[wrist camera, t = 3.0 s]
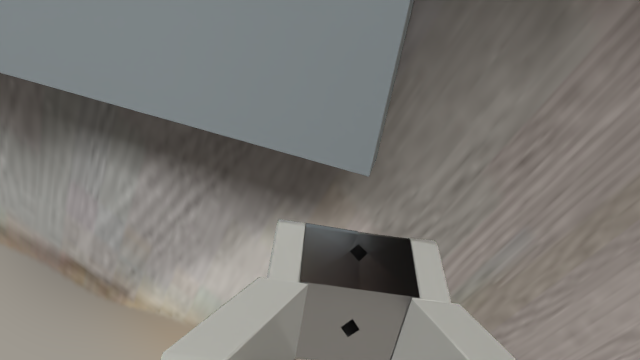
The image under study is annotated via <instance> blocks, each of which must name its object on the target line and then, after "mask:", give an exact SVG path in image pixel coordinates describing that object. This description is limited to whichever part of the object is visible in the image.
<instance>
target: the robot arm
mask: <svg viewBox="0 0 640 360" xmlns="http://www.w3.org/2000/svg"><path fill="white" fill-rule="evenodd" d="M295 358H300V359H310V360H516V359H515V358H514V357H513V356H512V355H511V354H510V353H509V352H508V351H507V350H506V349H505V348H504V347H503V346H502V345H501V344H500V343H499V342H498V341H497V340H496V339H495V338H494V337H493V336H492V335H491V334H490V333H489V332H488V331H487V330H486V329H485V328H484V327H482V326H481V325H480V324H479V323H478V322H477V321H476V320H475V319H474V318H473V317H472V316H471V315H470V314H469V313H468V312H467V311H466V310H465V309H464V308H463V307H462V306H461V305H460V304H455V303H452V302H451V298H450V294H449V290H448V285H447V281H446V277H445V273H444V269H443V265H442V261H441V256H440V252H439V248H438V244H437V243H436V242H435V241H433V240H424V239H416V238H408V239H407V238H400V237H393V236H385V235H378V234H371V233H363V232H357V231H352V230H346V229H340V228H334V227H327V226H321V225H315V224H309V223H306V225H305V224H304V223H301V222H295V221H288V220H281V219H279V220H278V222H277V226H276V231H275V237H274V242H273V248H272V253H271V259H270V264H269V269H268V275H267V278H261V277H259V278H257V279H256V280H255V281H253V282H252V283H251V284H250V285H248V286H247V287H246V288H245V289H243V290H242V291H241V292H239V293H238V294H237V295H236V296H234V297H233V298H232V299H231V300H229V301H228V302H227V303H225V304H224V305H223V306H222V307H220V308H219V309H218V310H216V311H215V312H214V313H213V314H211V315H210V316H209V317H208V318H206V319H205V320H204V321H202V322H201V323H200V324H199V325H197V326H196V327H195V328H194V329H192V330H191V331H190V332H188V333H187V334H186V335H185V336H183V337H182V338H181V339H179V340H178V341H177V342H176V343H175V344H173V345H172V346H171V347H169V348H168V349H167V350H165V351H164V352H163V354H162V356H161V359H160V360H295Z"/></svg>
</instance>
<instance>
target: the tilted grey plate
mask: <svg viewBox="0 0 640 360" xmlns="http://www.w3.org/2000/svg"><path fill="white" fill-rule="evenodd" d="M413 2H414V0H0V73H3V74H7V75H10V76H14V77H17V78H21V79H24V80H28V81H31V82H35V83H39V84H42V85H46V86H49V87H53V88H56V89H60V90H63V91H67V92H70V93H74V94H78V95H81V96H85V97H88V98H92V99H95V100H99V101H102V102H106V103H110V104H113V105H117V106H120V107H124V108H127V109H131V110H134V111H138V112H141V113H145V114H149V115H152V116H156V117H159V118H163V119H166V120H170V121H173V122H177V123H180V124H184V125H188V126H191V127H195V128H198V129H202V130H205V131H209V132H212V133H216V134H220V135H223V136H227V137H230V138H234V139H237V140H241V141H244V142H248V143H251V144H255V145H259V146H262V147H266V148H269V149H273V150H276V151H280V152H283V153H287V154H290V155H294V156H298V157H301V158H305V159H308V160H312V161H315V162H319V163H322V164H326V165H330V166H333V167H337V168H340V169H344V170H347V171H351V172H354V173H358V174H361V175H365V176H369V175H370V173H371V171H372V168H373V166H374V163H375V161H376V158H377V154H378V149H379V145H380V141H381V137H382V133H383V128H384V124H385V120H386V116H387V112H388V107H389V103H390V99H391V95H392V91H393V86H394V82H395V78H396V74H397V70H398V65H399V61H400V57H401V53H402V49H403V44H404V40H405V36H406V32H407V28H408V23H409V19H410V15H411V11H412V7H413Z"/></svg>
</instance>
